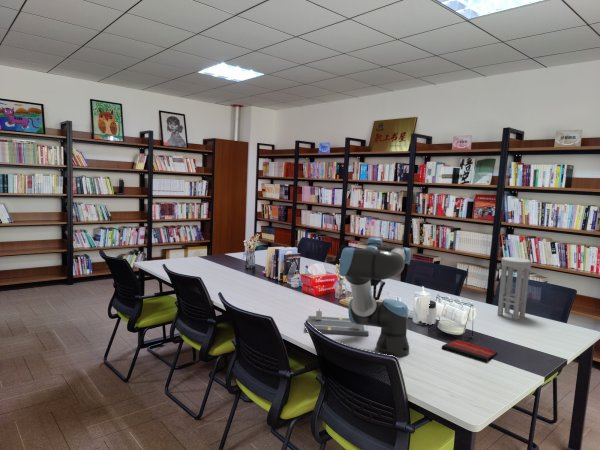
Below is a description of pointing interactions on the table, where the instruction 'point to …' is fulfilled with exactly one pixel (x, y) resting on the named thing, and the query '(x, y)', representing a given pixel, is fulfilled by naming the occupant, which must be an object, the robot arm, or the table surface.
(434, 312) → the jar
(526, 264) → the stool
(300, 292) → the table surface
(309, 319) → the console
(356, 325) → the fader
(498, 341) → the table surface
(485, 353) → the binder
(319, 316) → the fader
